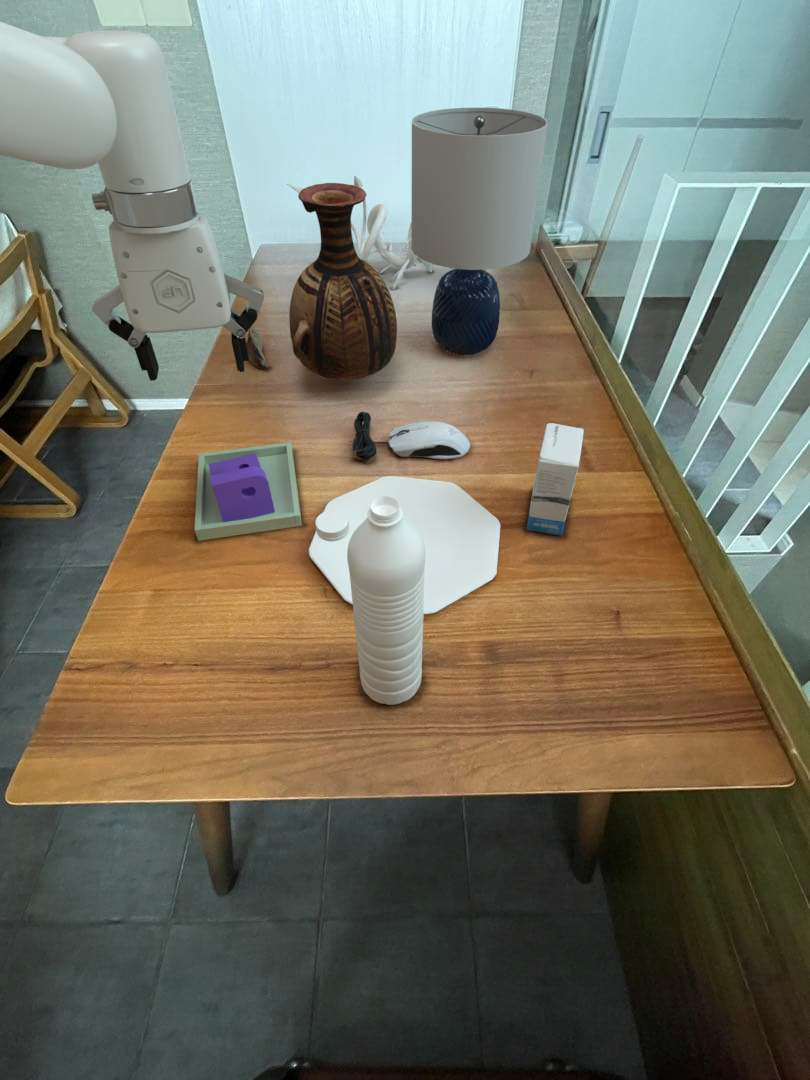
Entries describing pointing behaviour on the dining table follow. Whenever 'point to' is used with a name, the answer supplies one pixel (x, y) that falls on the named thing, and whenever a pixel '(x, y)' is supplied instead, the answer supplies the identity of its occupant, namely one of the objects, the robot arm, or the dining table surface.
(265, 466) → the shallow tray
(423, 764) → the dining table surface
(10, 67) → the robot arm
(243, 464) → the bracket
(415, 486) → the plate
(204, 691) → the dining table surface
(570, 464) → the ink box
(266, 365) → the oyster shell
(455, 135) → the lamp
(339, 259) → the vase
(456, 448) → the computer mouse
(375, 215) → the white dragon statue
